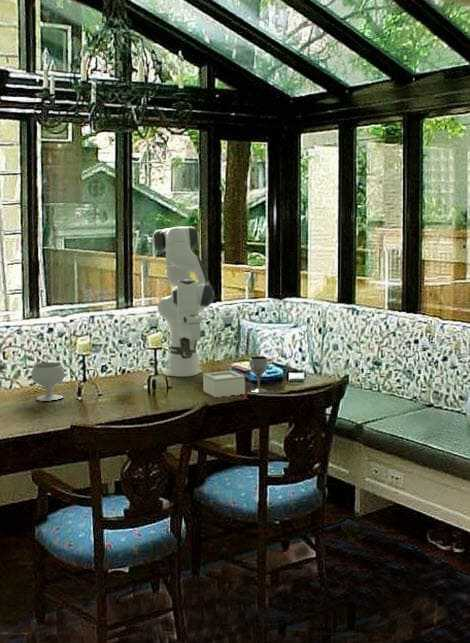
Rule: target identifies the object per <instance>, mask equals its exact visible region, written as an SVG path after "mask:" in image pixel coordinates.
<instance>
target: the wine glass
mask: <svg viewBox="0 0 470 643" xmlns="http://www.w3.org/2000/svg"><path fill="white" fill-rule="evenodd" d="M249 368H250V371H251V372H252V373H253V375H255V377H256V379H257V388H255V389H251V390H250V392H251V393H254V392H255V393H256V394H261V393H266V392H268V391H267V389H265V388H261V387H260V383H261V378H262V376H263V374H264V373H265V372H266V371H267V368H268V357H267V356H264V355H256V356H255V355H254V356H250V357H249Z"/></svg>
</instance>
